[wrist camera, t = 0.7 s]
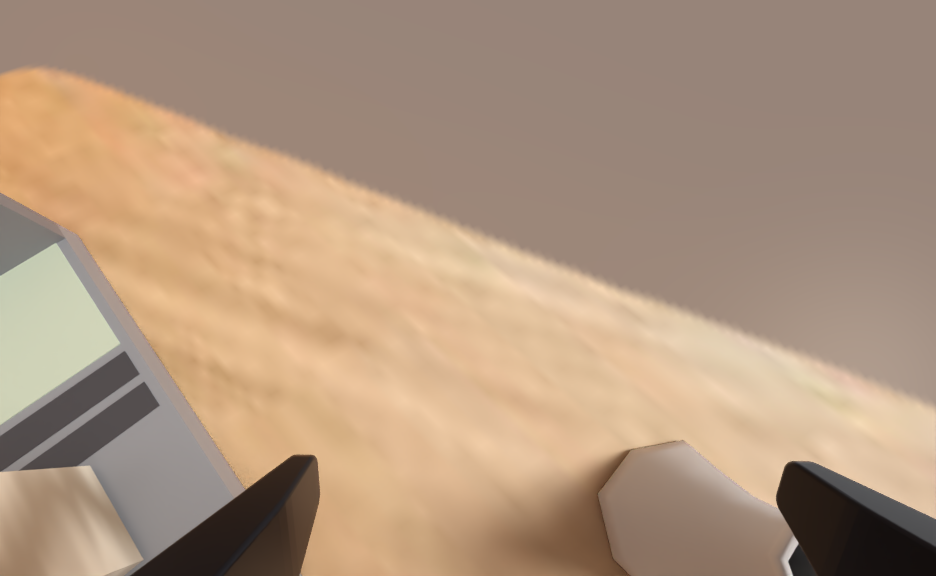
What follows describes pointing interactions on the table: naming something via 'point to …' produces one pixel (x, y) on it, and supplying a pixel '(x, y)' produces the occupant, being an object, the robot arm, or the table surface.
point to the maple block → (61, 526)
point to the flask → (692, 520)
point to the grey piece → (96, 389)
